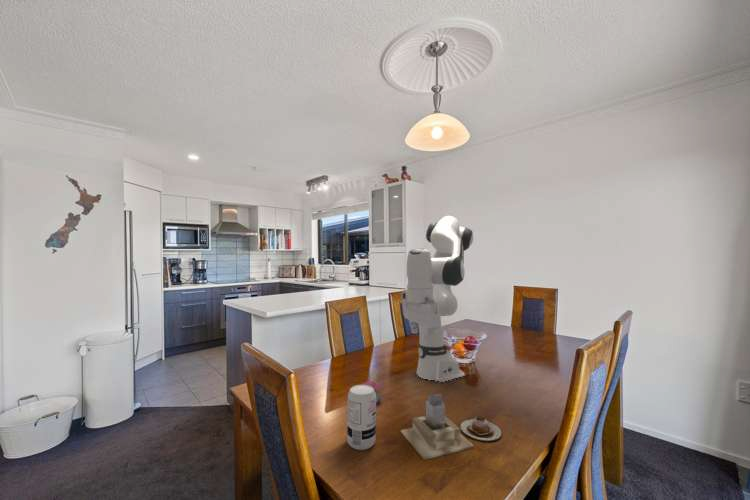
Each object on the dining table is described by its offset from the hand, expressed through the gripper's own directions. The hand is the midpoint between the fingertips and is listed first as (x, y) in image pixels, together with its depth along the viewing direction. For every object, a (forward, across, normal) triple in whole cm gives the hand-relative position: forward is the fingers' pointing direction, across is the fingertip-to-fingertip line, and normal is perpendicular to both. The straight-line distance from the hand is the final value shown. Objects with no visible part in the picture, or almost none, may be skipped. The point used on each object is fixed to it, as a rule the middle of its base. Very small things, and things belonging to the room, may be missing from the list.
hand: (421, 336), depth 104 cm
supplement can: (+26, -8, +25) cm, 37 cm away
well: (+26, -14, +4) cm, 30 cm away
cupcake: (+27, +16, +13) cm, 34 cm away
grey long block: (+26, -14, +4) cm, 29 cm away
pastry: (+28, -15, -12) cm, 33 cm away
